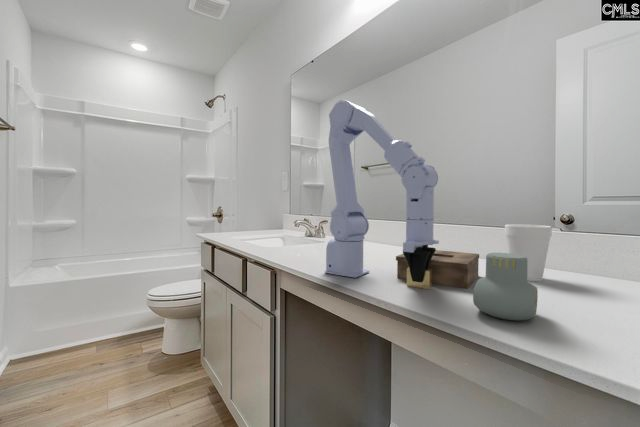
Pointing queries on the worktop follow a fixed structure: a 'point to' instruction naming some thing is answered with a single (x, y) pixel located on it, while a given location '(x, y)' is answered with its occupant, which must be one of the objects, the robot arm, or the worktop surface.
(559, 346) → the worktop surface
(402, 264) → the money box
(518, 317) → the air freshener
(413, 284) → the yellow block
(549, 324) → the worktop surface
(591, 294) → the worktop surface
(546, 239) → the foam cup
